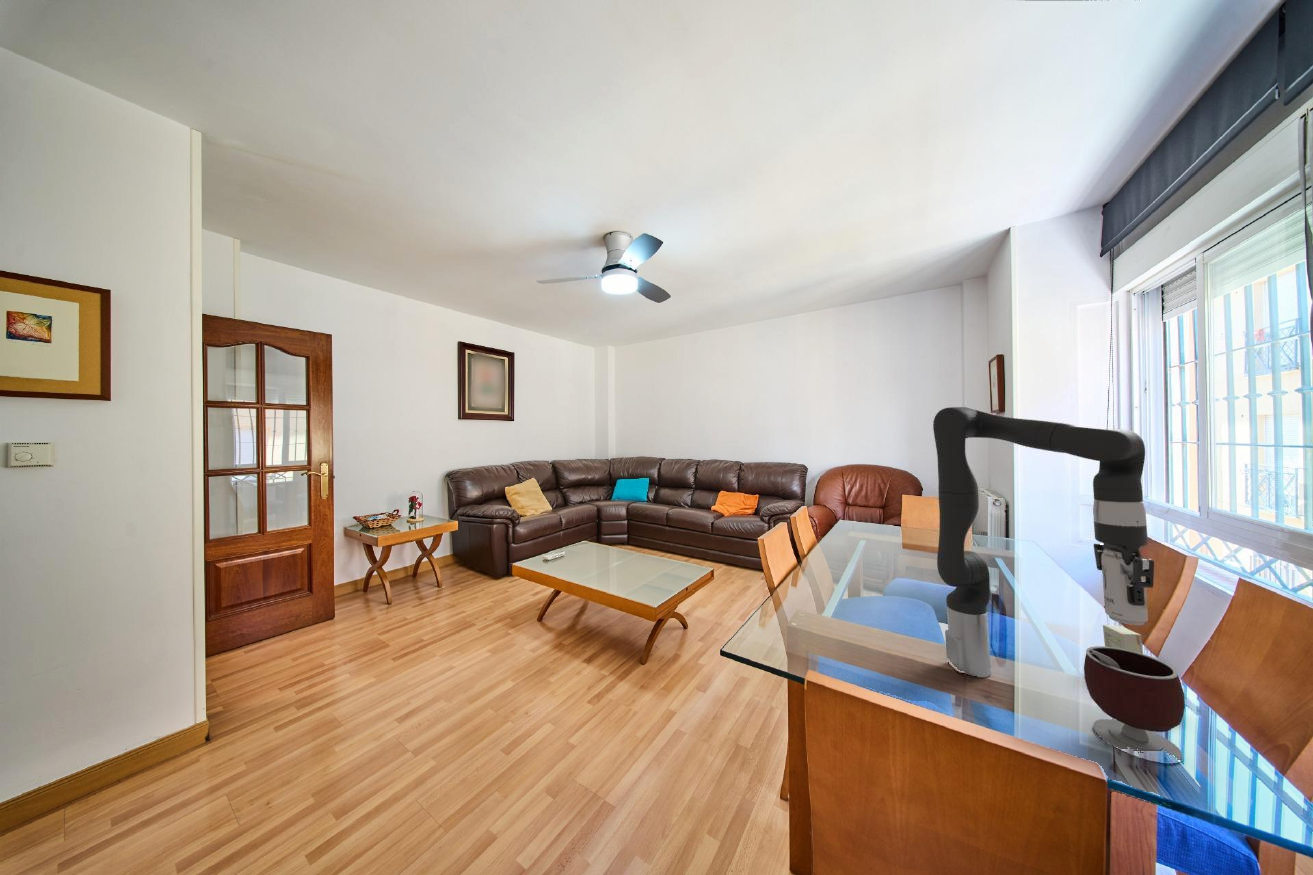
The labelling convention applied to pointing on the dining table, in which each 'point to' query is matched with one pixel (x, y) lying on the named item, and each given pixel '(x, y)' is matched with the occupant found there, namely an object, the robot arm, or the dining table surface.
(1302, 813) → the dining table surface
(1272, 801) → the dining table surface
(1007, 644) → the dining table surface
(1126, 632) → the skincare box
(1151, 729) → the mate gourd
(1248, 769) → the dining table surface
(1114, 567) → the energy drink can
